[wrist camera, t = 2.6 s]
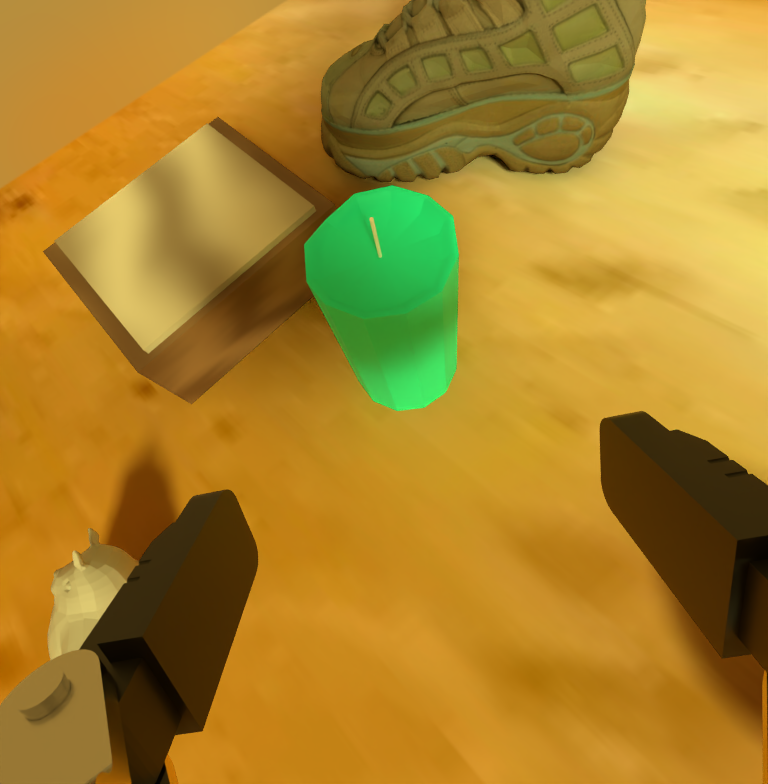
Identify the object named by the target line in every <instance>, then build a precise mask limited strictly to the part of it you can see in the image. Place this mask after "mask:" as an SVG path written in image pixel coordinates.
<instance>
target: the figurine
mask: <svg viewBox="0 0 768 784" xmlns="http://www.w3.org/2000/svg"><path fill="white" fill-rule="evenodd" d="M88 532H89V541H90V545H91V546H90V547H89V548H88V549H87V550H86V551H84V552H83V553H82V554H80V553H79V552H77V551H73V561H72V562H71V563H69V564H68V565H66V566H65V567H63V568H60V569H58V570H56V571H55V573H54V580H53V583H52V586H51V591H52V593H53V594H54V596H55V599H54V602H55V603H54V607H53V611H52V615H51V620H50V626H49V631H48V650H49V656H50V659H51V660H52V659H54V658H56V657H58V656H60V655H62V654H65V653H68V652H71V651H75V650H79V649H80V647H81V646H82V644H83V643H84V641H85V640H86V638H87V637H88V635H89V634H90V633H91V631H92V630H93V628H94V627H95V625H96V624H97V622H98V621H99V619H100V618H101V616H102V615H103V613H104V612H105V610H106V609H107V607H108V606H109V604H110V603H111V602H112V600H113V599H114V597H115V596H116V594H117V593H118V591H119V590H120V588H121V587H122V585H123V584H124V583H127V578H128V576H129V575H130V574H131V572H132V571H133V569H134V568H135V566H138V565H139V561H138V560H136V559H133V558H132V557H131V556H130V555H129V554H128V553H127V552H125V551H124V550H122V549H120V548H118V547H115V546H111V545H105V544H100V543H99V535H98V534H97V532H95V531H94V530H93V529H91V528H89V529H88Z"/></svg>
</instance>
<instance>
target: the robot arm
mask: <svg viewBox="0 0 768 784" xmlns="http://www.w3.org/2000/svg"><path fill="white" fill-rule="evenodd" d="M600 460H601V484H602V489H603V493H604V496H605V499H606V501H607V504H608V506H609V507H610V509H611V511H612V512H613V514H614V515H615V516H616V518H617V519H618V520H619V522H620V523H621V524H622V526H623V527H624V528H625V530H626V531H627V532H628V534H629V535H630V536H631V538H632V539H633V540H634V542H635V543H636V544H637V546H638V547H639V548H640V550H641V551H642V552H643V554H644V555H645V556H646V558H647V559H648V560H649V562H650V563H651V564H652V566H653V567H654V568H655V570H656V571H657V572H658V574H659V575H660V576H661V578H662V579H663V580H664V582H665V583H666V584H667V586H668V587H669V588H670V590H671V591H672V592H673V594H674V595H675V596H676V598H677V599H678V600H679V602H680V603H681V604H682V606H683V607H684V608H685V610H686V611H687V612H688V614H689V615H690V616H691V618H692V619H693V620H694V622H695V623H696V624H697V626H698V627H699V628H700V630H701V631H702V632H703V634H704V635H705V636H706V638H707V639H708V640H709V642H710V643H711V644H712V646H713V647H714V648H715V650H716V651H717V652H718V654H719V655H720V656H721V658H728V657H735V656H742V655H749V654H752V655H753V656H754V658H755V659H756V660H757V661H758V662H759V664H760V665H761V666H762V667H763V668H764V675H763V682H762V723H763V784H768V485H766V484H765V483H764V482H762V481H761V480H760V479H758V478H757V477H756V476H754V475H753V474H748V473H747V470H746V469H745V468H743V467H742V466H740V465H739V464H738V463H736V462H735V461H734V460H729V458H728V456H727V455H725V454H724V453H723V452H721V451H720V450H719V449H717V448H716V447H714V446H713V445H712V444H710V443H709V442H708V441H706V440H703V439H701V438H698V437H695V436H693V435H690V434H688V433H685V432H682V431H680V430H673V431H669V430H668V429H666V428H665V427H664V426H663V425H661V424H660V423H659V422H658V421H656V420H655V419H654V418H652V417H651V416H650V415H649V414H647V413H646V412H643V411H639V412H634V413H629V414H624V415H618V416H613V417H608V418H604V419H602V421H601V423H600ZM257 567H258V551H257V546H256V543H255V540H254V538H253V535H252V533H251V531H250V528H249V526H248V524H247V521H246V519H245V517H244V515H243V512H242V510H241V508H240V505H239V503H238V501H237V498H236V496H235V495H234V493H233V492H232V491H230V490H222V491H217V492H211V493H206V494H201V495H196V496H193V497H192V498H191V499H190V501H189V502H188V504H187V505H186V507H185V508H184V510H183V511H182V513H181V515H180V516H179V518H178V519H177V521H176V522H175V523H172V524H171V525H170V526H169V527H168V528H167V529H165V530H164V531H163V532H162V533H161V534H160V535H159V536H158V537H157V538H156V539H154V540H153V541H152V543H151V544H150V546H149V547H148V548H147V550H146V551H145V553H144V554H143V556H142V557H141V559H140V560H139V565H138V566H135V568H134V569H133V571H132V572H131V574H130V575H129V576H128V578H127V583H124V584H123V585H122V587H121V588H120V590H119V591H118V593H117V594H116V596H115V597H114V599H113V600H112V602H111V603H110V604H109V606H108V607H107V609H106V610H105V612H104V613H103V615H102V616H101V618H100V619H99V621H98V622H97V624H96V625H95V627H94V628H93V630H92V631H91V633H90V634H89V635H88V637H87V638H86V640H85V641H84V643H83V644H82V646H81V647H80V649H79V650H75V651H71V652H68V653H65V654H62V655H60V656H58V657H56V658H54V659H52V660H50V661H49V662H47V663H45V664H44V665H42V666H41V667H39V668H38V669H36V670H35V671H34V672H32V673H31V674H30V675H28V676H27V677H26V678H25V679H24V680H23V681H22V682H20V683H19V684H18V685H17V686H16V687H15V688H14V689H13V690H12V691H11V693H10V694H9V695H8V696H7V697H6V698H5V699H4V701H3V702H2V703H1V705H0V784H178V780H177V776H176V772H175V768H174V765H173V762H172V760H171V759H170V757H169V756H168V751H169V749H170V746H171V744H172V741H173V739H174V736H175V735H180V734H186V733H193V732H200V731H203V728H204V725H205V722H206V719H207V716H208V713H209V711H210V708H211V705H212V702H213V699H214V696H215V693H216V690H217V687H218V684H219V681H220V678H221V675H222V672H223V669H224V666H225V663H226V660H227V657H228V655H229V652H230V649H231V646H232V643H233V640H234V637H235V634H236V631H237V628H238V625H239V622H240V619H241V616H242V613H243V610H244V607H245V604H246V601H247V598H248V596H249V593H250V590H251V587H252V584H253V581H254V578H255V575H256V572H257Z"/></svg>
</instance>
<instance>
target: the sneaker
mask: <svg viewBox="0 0 768 784" xmlns="http://www.w3.org/2000/svg"><path fill="white" fill-rule="evenodd" d="M645 5H646V0H411V1H410V2H409V3H408V4H407V5H405V6H404V7H403V11H402V13H401V14H400V15H399V16H397V17H396V18H395V19H394V20H393V21H392V22H391V23H390V24H384V25H383V27H382V28H381V29H380V30H379V32H378V33H377V35H376V36H375V38H374V39H373V40H370V41H367V42H364V43H362V44H360V45H359V46H357V47H356V48H354V49H352V50H351V51H349V52H348V53H346V54H344V55H343V56H342V57H341V58H340V59H338V60H337V61H336V62H335V63H333V64H332V65H331V66H330V67H329V69H328V71H327V72H326V74H325V76H324V77H323V81H322V88H321V103H322V110H321V111H322V123H321V136H322V143H323V147H324V149H325V151H326V153H327V154H328V155H329V156H330V157H332V158H334V159H335V162H336V164H337V165H338V166H340V167H341V168H342V169H344V170H345V171H347V172H349V173H351V174H353V175H356V176H358V177H361V178H364V179H366V178H368V177H371V176H374V177H375V178H376V179H377V180H378V181H386V182H391V181H392V179H393V178H394V177H396V178H398V179H399V180H401V181H405V182H413V181H414V180H415V179H416V177H417V176H419V175H421V176H423V177H425V178H427V179H434V178H438V177H439V175H440V173H441V172H442V171H443V172H445V173H452V172H457V171H459V170H461V169H462V168H463V167H464V166H465V165H467V164H468V163H470V162H471V161H473V160H474V159H476V158H477V157H479V156H486V155H495V156H497V157H498V158H500V159H502V161H503V162H504V163H505V164H506V165H507V166H508V168H509V169H510V170H513V171H517V172H521V171H529V172H532V173H540V174H544V173H545V172H547V171H548V170H551V171H553V172H554V173H555V174H557V173H566V172H568V171H569V170H570V169H571V168H572V167H577V168H580V167H582V166H583V165H585V164H586V163H588V162H589V161H590V160H591V158H592V156H593V155H594V154H595V153H596V152H598V151H600V150H601V149H602V148H603V147H604V145H605V144H606V143H607V141H608V140H609V139H610V137H611V135H612V132H613V128H614V127H615V125H616V124H617V123H618V121H619V119H620V117H621V115H622V112H623V109H624V107H625V104H626V101H627V98H628V94H629V78H630V76H631V73H632V70H633V68H634V65H635V63H634V62H635V55H636V52H637V49H638V46H639V44H640V41H641V36H642V32H643V28H644V24H645V19H646V11H645Z"/></svg>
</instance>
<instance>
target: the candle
mask: <svg viewBox="0 0 768 784" xmlns="http://www.w3.org/2000/svg"><path fill="white" fill-rule="evenodd" d="M304 252H305V267H306V282H307V284H308V286H309V287H310V289H311V291H312V293H313V295H314V297H315V299H316V301H317V303H318V305H319V306H320V308H321V310H322V312H323V314H324V316H325V318H326V320H327V322H328V324H329V325H330V327H331V329H332V331H333V333H334V335H335V337H336V339H337V341H338V343H339V344H340V346H341V348H342V350H343V352H344V354H345V356H346V358H347V360H348V362H349V363H350V365H351V367H352V369H353V371H354V373H355V375H356V377H357V379H358V381H359V382H360V384H361V385H362V386H363V388H364V389H365V390H366V392H367V393H368V394H369V396H370V397H371V399H372V400H373V401H374V402H377V403H379V404H382V405H384V406H387V407H389V408H391V409H394V410H396V411H400V410H409V409H417V408H424V407H426V406H427V405H429V404H430V403H431V402H433V401H434V400H436V399H437V398H439V397H440V396H441V395H443V394H444V393H446V391H447V389H448V387H449V385H450V382H451V380H452V378H453V376H454V373H455V371H456V367H457V317H458V268H459V253H458V246H457V239H456V232H455V226H454V219H453V216H452V215H451V214H450V213H449V212H448V211H446V210H445V209H444V208H443V207H442V206H440V205H439V204H438V203H437V202H436V201H434V200H433V199H432V198H431V197H430V196H428V195H425V194H421V193H418V192H414V191H411V190H407V189H404V188H400V187H397V186H393V185H391V186H387V187H382V188H378V189H373V190H369V191H364V192H360V193H355V194H353V195H352V196H351V197H350V198H349V199H348V200H347V201H346V202H345V203H343V204H342V205H341V206H340V207H339V208H338V209H337V210H336V211H335V212H333V213H332V214H331V215H330V216H329V217H328V218H327V219H326V220H325V221H324V222H323V223H322V224H321V225H320V226H319V228H318V229H317V230H316V231H315V232H314V233H313V235H312V236H311V237H310V238H309V239H308V240H307V242H306V243H305V244H304Z"/></svg>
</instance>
